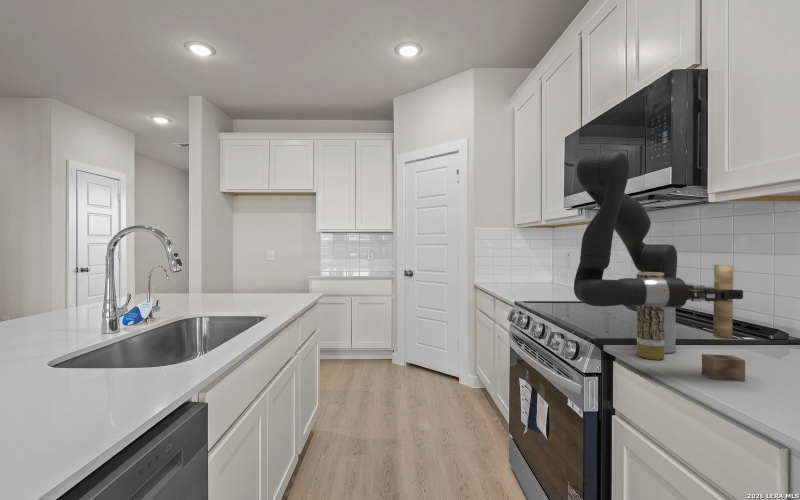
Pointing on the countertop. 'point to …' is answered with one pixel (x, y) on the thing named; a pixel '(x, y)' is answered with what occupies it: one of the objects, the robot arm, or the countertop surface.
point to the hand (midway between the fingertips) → (735, 293)
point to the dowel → (723, 302)
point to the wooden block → (723, 367)
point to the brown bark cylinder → (650, 326)
